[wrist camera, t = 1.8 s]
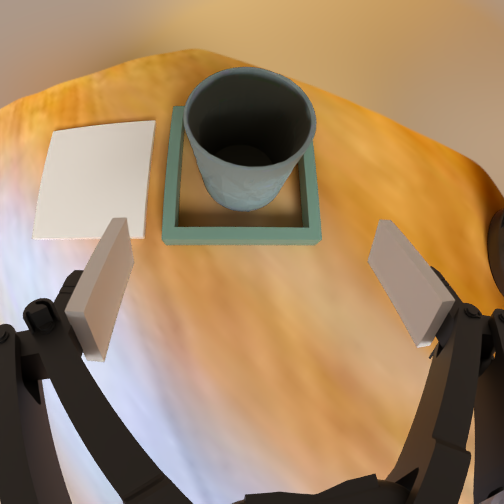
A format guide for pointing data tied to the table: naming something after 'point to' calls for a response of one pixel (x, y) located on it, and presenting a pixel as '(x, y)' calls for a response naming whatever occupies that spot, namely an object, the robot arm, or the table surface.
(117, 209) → the ceramic tile
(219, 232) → the square holder
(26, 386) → the robot arm
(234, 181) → the grey-green cup
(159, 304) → the table surface
